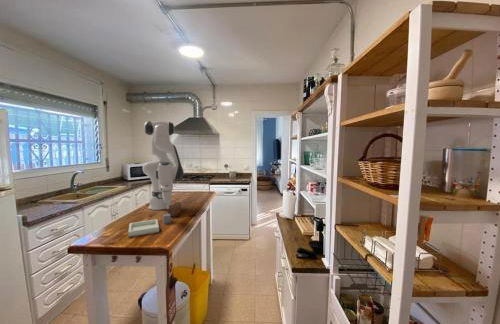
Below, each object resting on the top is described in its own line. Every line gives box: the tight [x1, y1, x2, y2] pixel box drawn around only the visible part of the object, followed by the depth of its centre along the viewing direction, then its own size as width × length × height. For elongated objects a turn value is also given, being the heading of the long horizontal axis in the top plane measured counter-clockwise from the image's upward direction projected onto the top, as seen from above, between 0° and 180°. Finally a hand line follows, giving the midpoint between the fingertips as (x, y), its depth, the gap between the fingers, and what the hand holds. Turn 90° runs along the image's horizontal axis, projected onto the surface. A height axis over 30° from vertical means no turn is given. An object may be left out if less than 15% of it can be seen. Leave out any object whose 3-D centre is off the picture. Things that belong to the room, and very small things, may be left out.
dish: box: [127, 218, 160, 238], centre depth 134 cm, size 16×16×3 cm
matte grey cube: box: [162, 213, 172, 225], centre depth 147 cm, size 4×4×5 cm
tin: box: [167, 201, 182, 217], centre depth 165 cm, size 15×3×8 cm, turn 168°
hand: (166, 207), depth 146 cm, fingers open, 8 cm apart
